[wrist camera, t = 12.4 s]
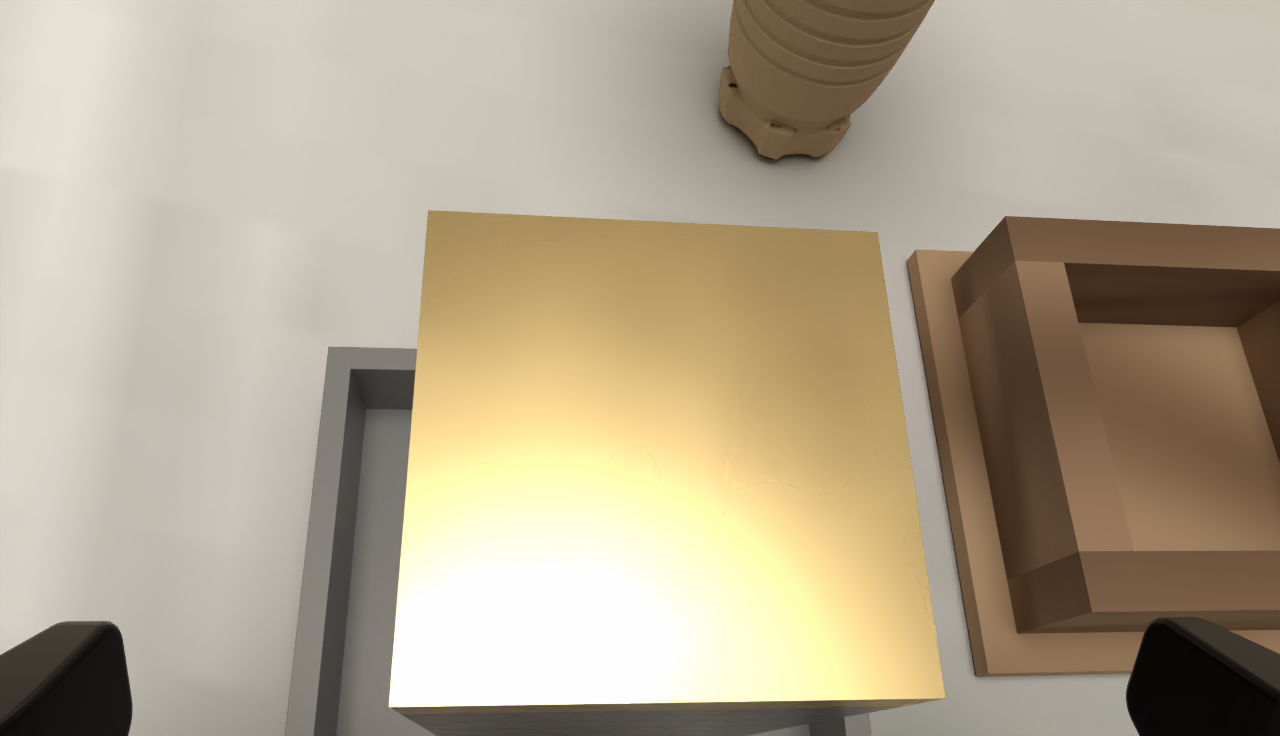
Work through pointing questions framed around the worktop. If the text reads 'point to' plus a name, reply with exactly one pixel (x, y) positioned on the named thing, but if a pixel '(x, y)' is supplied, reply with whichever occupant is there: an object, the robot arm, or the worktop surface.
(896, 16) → the handle
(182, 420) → the worktop surface
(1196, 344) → the holder
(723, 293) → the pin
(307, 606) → the tray
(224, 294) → the worktop surface
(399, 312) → the worktop surface
